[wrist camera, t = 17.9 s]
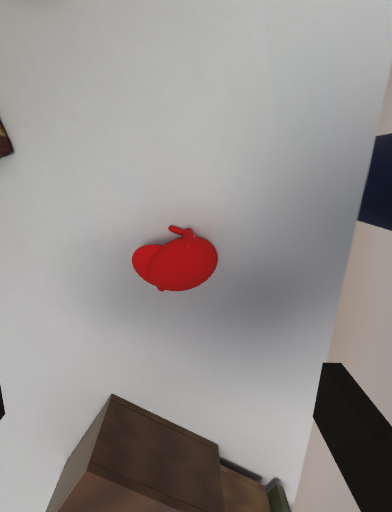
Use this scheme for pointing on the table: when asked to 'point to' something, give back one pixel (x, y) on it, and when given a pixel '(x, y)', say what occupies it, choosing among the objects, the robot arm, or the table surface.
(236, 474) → the drawer
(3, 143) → the decorative box
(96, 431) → the cabinet
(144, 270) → the cap
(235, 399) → the table surface
